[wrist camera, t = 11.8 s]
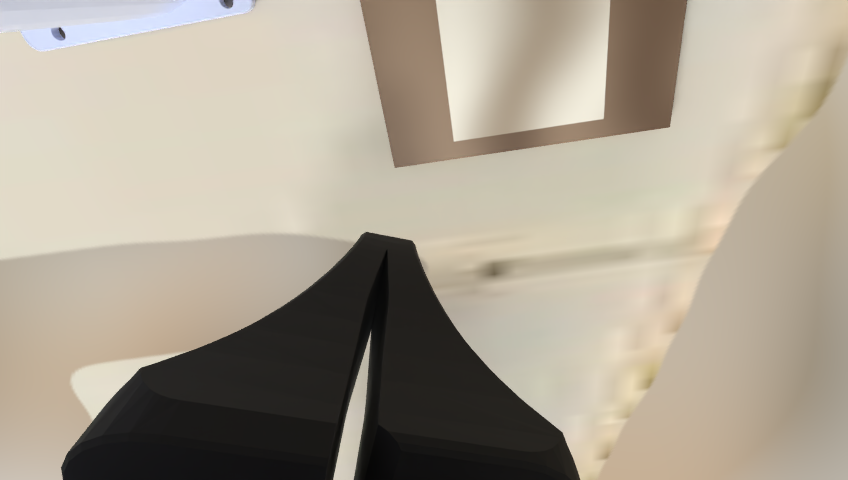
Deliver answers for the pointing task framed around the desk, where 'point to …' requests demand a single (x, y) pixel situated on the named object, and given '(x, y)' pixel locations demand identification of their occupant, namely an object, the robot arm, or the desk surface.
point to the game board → (520, 72)
